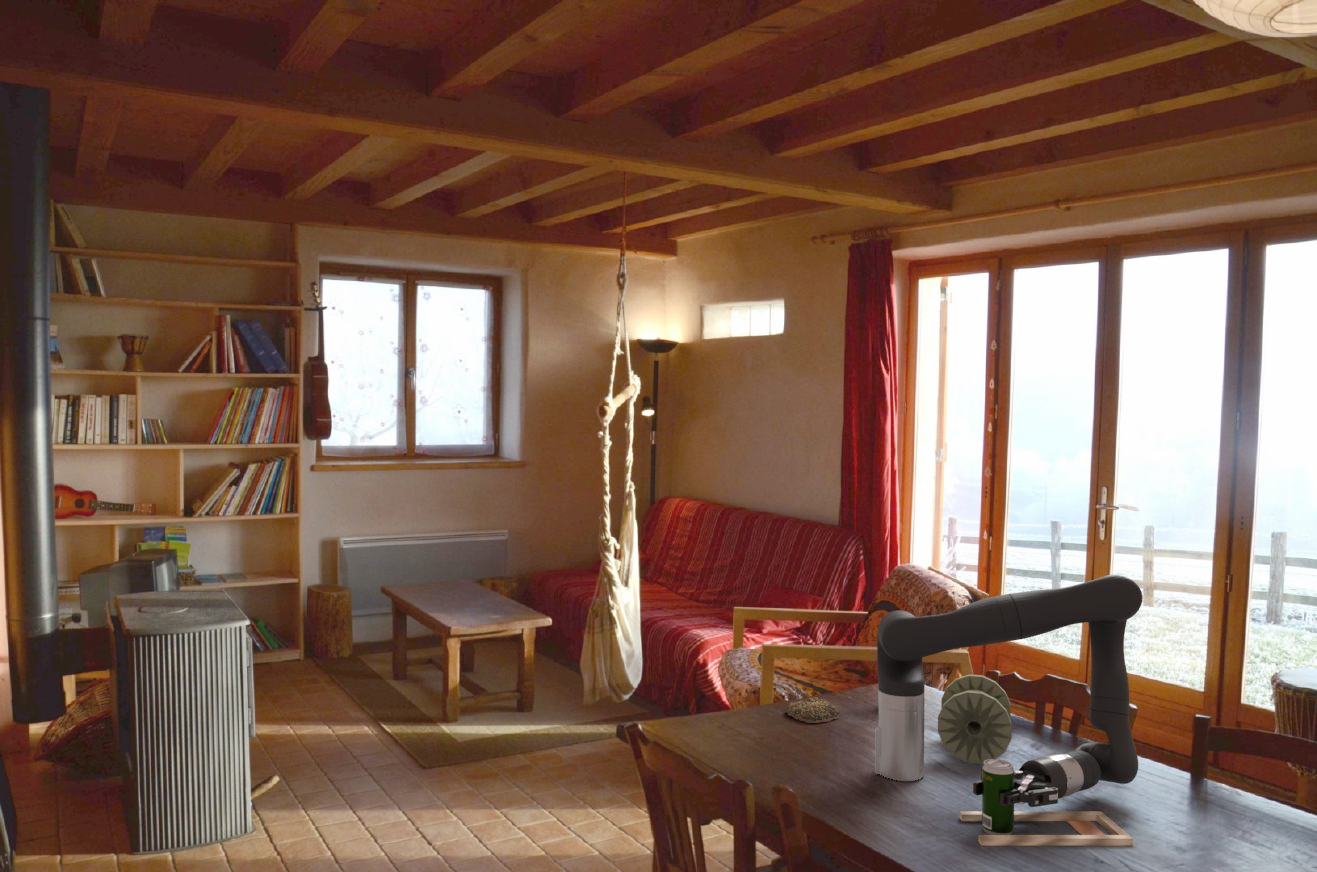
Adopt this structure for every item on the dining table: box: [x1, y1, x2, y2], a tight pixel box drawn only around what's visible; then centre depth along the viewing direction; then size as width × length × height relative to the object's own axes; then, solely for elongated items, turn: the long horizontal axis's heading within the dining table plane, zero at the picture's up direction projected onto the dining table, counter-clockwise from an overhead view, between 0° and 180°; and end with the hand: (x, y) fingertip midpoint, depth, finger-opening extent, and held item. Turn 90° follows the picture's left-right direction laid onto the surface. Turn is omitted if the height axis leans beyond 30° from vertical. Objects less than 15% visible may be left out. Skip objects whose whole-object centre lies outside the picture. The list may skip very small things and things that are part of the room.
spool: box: [937, 674, 1013, 765], centre depth 220 cm, size 16×15×15 cm
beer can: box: [981, 758, 1015, 835], centre depth 176 cm, size 5×5×12 cm
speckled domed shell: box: [784, 696, 841, 721], centre depth 246 cm, size 13×12×5 cm
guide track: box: [959, 810, 1134, 847], centre depth 176 cm, size 26×12×1 cm, turn 90°
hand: (988, 794), depth 175 cm, fingers closed on beer can, 5 cm apart
